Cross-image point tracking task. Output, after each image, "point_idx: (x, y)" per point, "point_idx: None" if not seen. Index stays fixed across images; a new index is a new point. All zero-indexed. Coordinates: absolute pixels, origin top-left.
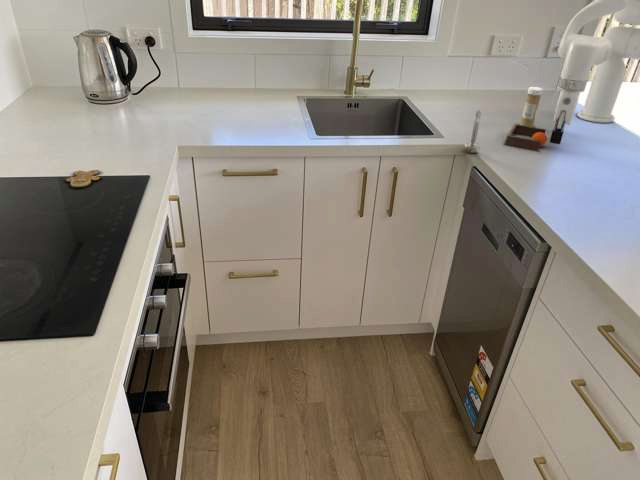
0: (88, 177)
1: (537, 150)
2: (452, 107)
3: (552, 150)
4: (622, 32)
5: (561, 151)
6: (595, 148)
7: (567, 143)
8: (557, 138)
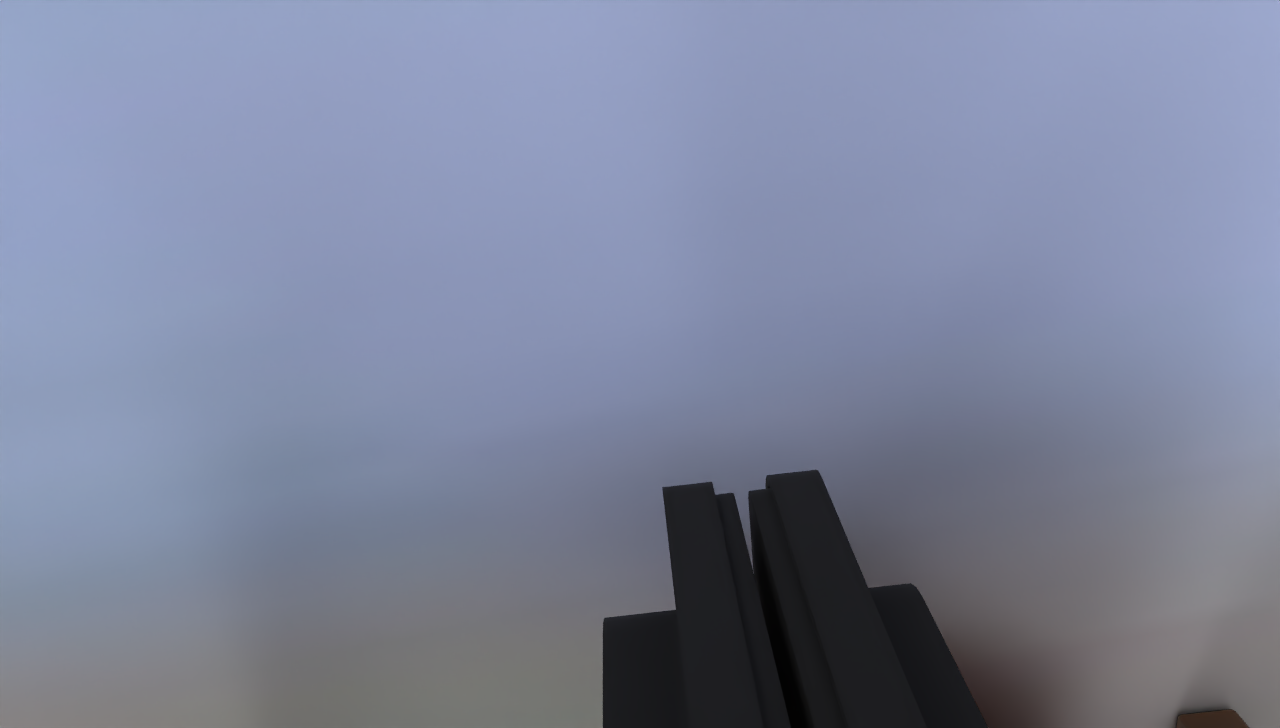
0: None
1: (1239, 718)
2: None
3: (1040, 482)
4: None
5: (1001, 289)
6: None
7: (190, 295)
8: (948, 672)
